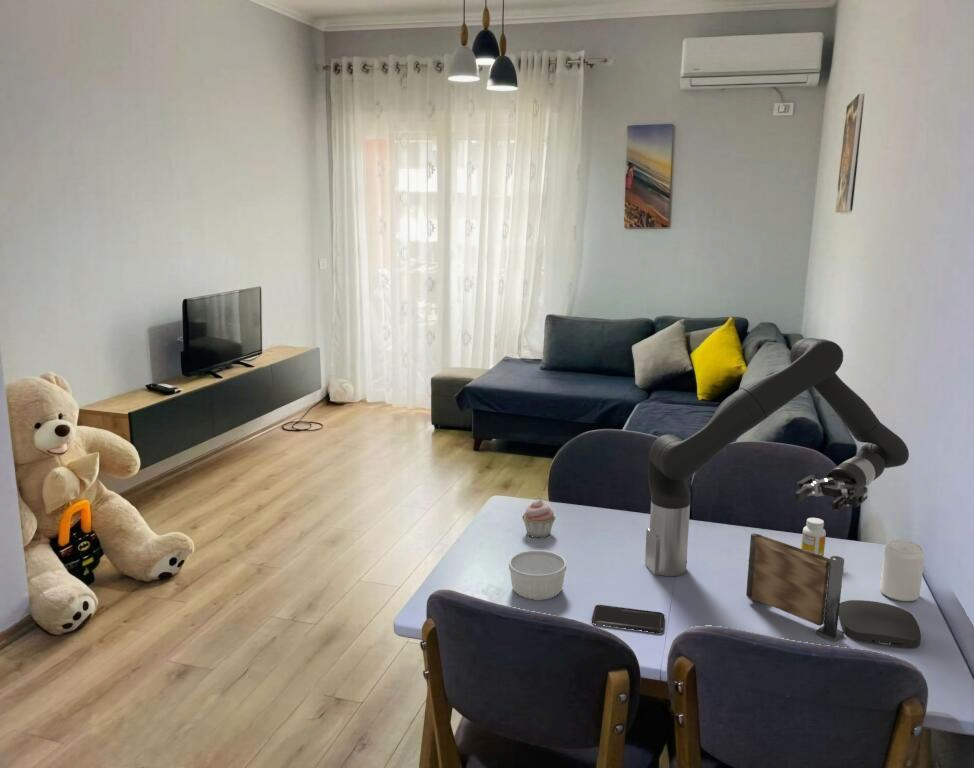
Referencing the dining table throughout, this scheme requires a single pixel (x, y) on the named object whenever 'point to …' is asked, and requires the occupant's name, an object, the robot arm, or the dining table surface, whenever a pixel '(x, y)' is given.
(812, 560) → the wooden gate
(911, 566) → the beverage can
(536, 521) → the cupcake
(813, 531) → the supplement bottle
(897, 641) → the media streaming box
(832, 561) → the gate post
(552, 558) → the ramekin
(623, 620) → the phone
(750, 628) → the dining table surface
